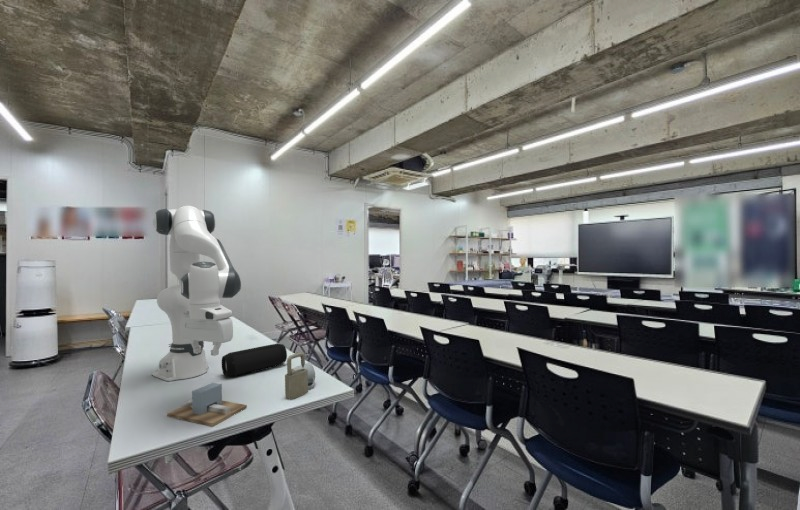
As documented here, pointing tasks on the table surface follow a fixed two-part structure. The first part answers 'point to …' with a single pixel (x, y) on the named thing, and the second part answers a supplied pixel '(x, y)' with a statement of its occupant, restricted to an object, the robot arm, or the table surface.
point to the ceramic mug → (310, 373)
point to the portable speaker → (253, 359)
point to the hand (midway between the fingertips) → (206, 354)
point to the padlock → (296, 378)
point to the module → (206, 397)
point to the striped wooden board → (211, 417)
